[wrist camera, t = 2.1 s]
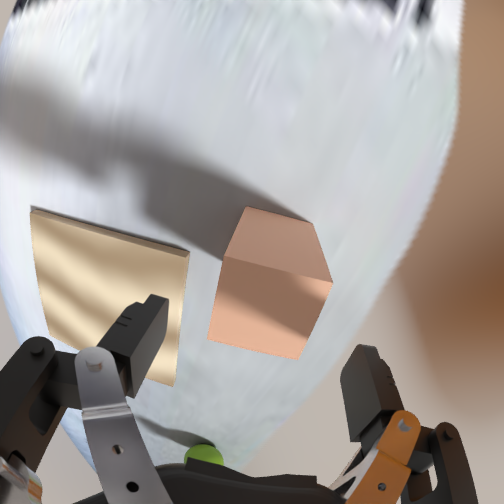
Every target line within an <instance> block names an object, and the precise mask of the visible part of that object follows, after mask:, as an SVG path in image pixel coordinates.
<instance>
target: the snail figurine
mask: <svg viewBox="0 0 504 504" xmlns="http://www.w3.org/2000/svg"><path fill="white" fill-rule="evenodd" d="M188 457H191V458H195V459H198V460H203V461H207V462H211V463H216V464H220V465H223V464H224V461H223V457H222V455H221V453H220V452H219V451H218V450H217V449H216V448H214V447H212V446H210V445H206V444H199V445H195V446H193V447H191V448H190V449H189V450H188V451H187V452H186V454H185V457H184V463H186V461H187V458H188Z"/></svg>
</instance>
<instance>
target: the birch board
mask: <svg viewBox="0 0 504 504" xmlns="http://www.w3.org/2000/svg"><path fill="white" fill-rule="evenodd" d="M30 225H31V237H32V246H33V255H34V262H35V269H36V275H37V281H38V286H39V292H40V297H41V301H42V306H43V310H44V314H45V319H46V322H47V326H48V330H49V334H50V336H52V337H54V338H56V339H58V340H60V341H62V342H64V343H66V344H67V345H69V346H72V347H74V348H76V349H78V350H80V351H81V350H82V349H84V348H87V347H95V346H96V345H97V344H98V343H99V341H100V340H101V339H102V337H103V336H104V335H105V334H106V332H107V331H108V330H109V328H110V327H111V326H112V325H113V323H115V321H116V319H117V318H118V317H119V316H120V314H121V313H122V312H123V311H124V309H125V308H126V307H127V306H129V305H131V304H133V303H135V302H139V303H142V304H143V303H144V302H145V301H146V299H147V298H148V297H149V295H150V294H155V295H158V296H161V297H164V298H168V299H169V311H168V323H167V331H166V335H165V338H164V341H163V343H162V345H161V347H160V349H159V351H158V353H157V355H156V357H155V359H154V360H153V362H152V364H151V366H150V368H149V370H148V372H147V374H146V376H145V378H148V379H150V380H153V381H156V382H159V383H162V384H165V385H168V386H172V387H173V385H174V382H175V380H176V367H177V355H178V345H179V335H180V325H181V316H182V308H183V300H184V292H185V284H186V277H187V269H188V263H189V256H190V252H188V251H184V250H180V249H177V248H173V247H169V246H165V245H162V244H158V243H154V242H151V241H147V240H143V239H140V238H136V237H132V236H129V235H125V234H121V233H118V232H114V231H110V230H107V229H103V228H100V227H96V226H93V225H89V224H85V223H82V222H78V221H75V220H71V219H68V218H64V217H61V216H57V215H54V214H51V213H47V212H44V211H40V210H34V211H32V212H30Z"/></svg>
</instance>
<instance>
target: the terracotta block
mask: <svg viewBox="0 0 504 504" xmlns="http://www.w3.org/2000/svg"><path fill="white" fill-rule="evenodd" d="M332 285H333V281H332V278H331V275H330V272H329V269H328V266H327V263H326V260H325V257H324V254H323V251H322V248H321V245H320V243H319V240H318V237H317V234H316V231H315V228H314V226H313V224H312V223H308V222H305V221H301V220H297V219H294V218H290V217H286V216H283V215H279V214H275V213H271V212H267V211H264V210H260V209H256V208H252V207H248V206H246V207H245V209H244V212H243V214H242V216H241V218H240V221H239V223H238V225H237V227H236V229H235V232H234V234H233V236H232V238H231V241H230V243H229V245H228V247H227V250H226V252H225V254H224V257H223V262H222V267H221V272H220V276H219V281H218V286H217V291H216V296H215V301H214V306H213V311H212V316H211V321H210V326H209V331H208V336H207V339H208V340H212V341H216V342H220V343H223V344H227V345H231V346H235V347H240V348H244V349H248V350H252V351H257V352H261V353H266V354H271V355H275V356H280V357H285V358H290V359H296V360H298V359H299V357H300V355H301V353H302V351H303V349H304V347H305V345H306V343H307V341H308V338H309V336H310V334H311V332H312V330H313V328H314V326H315V323H316V321H317V319H318V317H319V315H320V312H321V310H322V308H323V306H324V303H325V301H326V299H327V296H328V294H329V292H330V289H331V287H332Z"/></svg>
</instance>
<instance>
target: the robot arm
mask: <svg viewBox="0 0 504 504" xmlns="http://www.w3.org/2000/svg"><path fill="white" fill-rule="evenodd" d="M168 311H169V299H168V298H164V297H161V296H158V295H155V294H150V295H149V297H148V298H147V299H146V301H145V302H144V303H143V304H142V303H139V302H135V303H133V304H131V305H129V306H127V307H126V308H125V309H124V311H123V312H122V313H121V314H120V316H119V317H118V318H117V319H116V321H115V323H113V325H112V326H111V327H110V328H109V330H108V331H107V332H106V334H105V335H104V336H103V337H102V339H101V340H100V341H99V343H98V344H97V345H96V346H95V347H87V348H84V349H82V350H81V351H80V352H79V353H78V354H72V353H67V352H61V351H56V350H55V348H54V345H53V343H52V342H51V341H50V340H49V339H47V338H45V337H40V336H36V337H32V338H29V339H27V340H26V341H25V342H24V343H23V344H22V345H21V346H20V348H19V349H18V350H17V351H16V352H15V354H14V355H13V356H12V357H11V359H10V360H9V361H8V362H7V364H6V365H5V366H4V367H3V369H2V370H1V371H0V504H42V502H41V496H42V484H41V482H40V479H39V478H38V476H37V475H36V474H35V472H36V470H37V468H38V465H39V463H40V461H41V459H42V457H43V455H44V453H45V450H46V448H47V446H48V444H49V442H50V440H51V438H52V436H53V434H54V432H55V430H56V428H57V426H58V424H59V423H60V421H61V419H62V417H63V415H64V413H65V411H66V409H67V408H68V407H69V408H74V409H79V410H82V411H83V412H82V420H83V425H84V429H85V433H86V437H87V441H88V445H89V448H90V452H91V455H92V458H93V462H94V465H95V468H96V471H97V474H98V477H99V480H100V483H101V485H102V488H103V491H102V492H100V493H98V494H96V495H93V496H91V497H88V498H86V499H83V500H81V501H78V502H76V503H73V504H396V502H397V500H398V499H399V497H400V496H401V504H478V499H477V496H476V490H475V486H474V482H473V478H472V474H471V471H470V467H469V464H468V460H467V457H466V454H465V450H464V447H463V444H462V441H461V438H460V435H459V432H458V430H457V429H456V428H455V427H454V426H453V425H452V424H450V423H447V422H442V423H440V424H439V425H438V426H437V427H436V428H435V429H431V428H427V427H424V426H421V425H420V422H419V420H418V418H417V417H416V416H415V415H414V414H413V413H411V412H409V411H406V410H404V407H403V404H402V401H401V398H400V395H399V392H398V390H397V387H396V386H395V381H394V379H393V376H392V373H391V370H390V368H389V366H388V365H387V364H386V363H385V361H384V360H383V359H380V356H379V354H378V351H377V349H376V347H374V346H368V345H362V344H359V345H357V346H356V348H355V349H354V351H353V353H352V354H351V356H350V358H349V359H348V361H347V363H346V364H345V366H344V368H343V370H342V372H341V377H340V382H341V388H342V393H343V399H344V404H345V410H346V416H347V422H348V428H349V435H350V442H361V447H360V448H359V449H358V450H357V451H356V453H355V455H354V456H353V457H352V459H351V461H350V462H349V463H348V465H347V466H346V467H345V469H344V470H343V472H342V473H341V474H340V476H339V477H338V478H337V479H336V480H335V482H334V483H332V484H331V485H330V486H329V487H328V488H327V487H325V486H323V485H320V484H317V477H316V476H308V475H290V474H285V475H277V476H269V477H256V478H254V477H250V476H247V475H245V474H242V473H240V472H237V471H235V470H232V469H230V468H227V467H225V466H223V465H220V464H216V463H211V462H207V461H203V460H198V459H195V458H191V457H188V458H187V461H186V463H172V464H164V465H159V466H155V467H154V465H153V463H152V460H151V458H150V456H149V454H148V451H147V449H146V447H145V444H144V442H143V439H142V437H141V434H140V432H139V429H138V427H137V424H136V421H135V419H134V416H133V413H132V411H131V408H130V407H129V406H128V404H127V401H126V398H125V397H126V396H129V397H131V398H135V396H136V394H137V392H138V390H139V388H140V386H141V384H142V382H143V380H144V378H145V376H146V374H147V372H148V370H149V368H150V366H151V364H152V362H153V360H154V359H155V357H156V355H157V353H158V351H159V349H160V347H161V345H162V343H163V341H164V338H165V335H166V331H167V323H168ZM433 465H434V466H435V471H436V475H437V480H438V483H437V487H436V488H435V490H434V491H432V486H431V482H430V476H429V471H428V468H430V467H431V466H433Z"/></svg>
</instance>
